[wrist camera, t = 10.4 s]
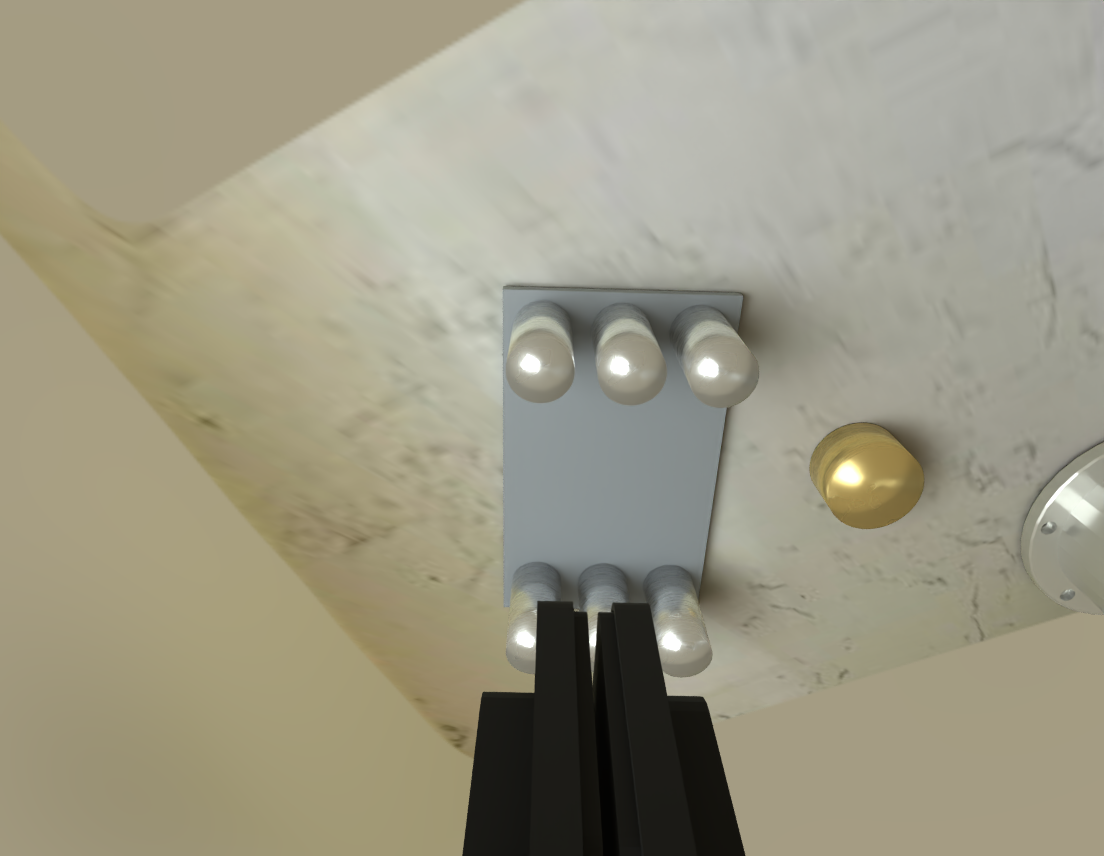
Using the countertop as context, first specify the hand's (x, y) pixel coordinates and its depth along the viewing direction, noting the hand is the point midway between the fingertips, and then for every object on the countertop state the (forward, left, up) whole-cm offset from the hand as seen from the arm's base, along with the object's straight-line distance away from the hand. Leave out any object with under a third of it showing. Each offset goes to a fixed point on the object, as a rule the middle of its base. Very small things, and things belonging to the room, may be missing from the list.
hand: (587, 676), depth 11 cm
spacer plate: (-3, +11, -27) cm, 29 cm away
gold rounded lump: (-17, +11, -27) cm, 34 cm away
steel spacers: (-3, +11, -27) cm, 29 cm away
